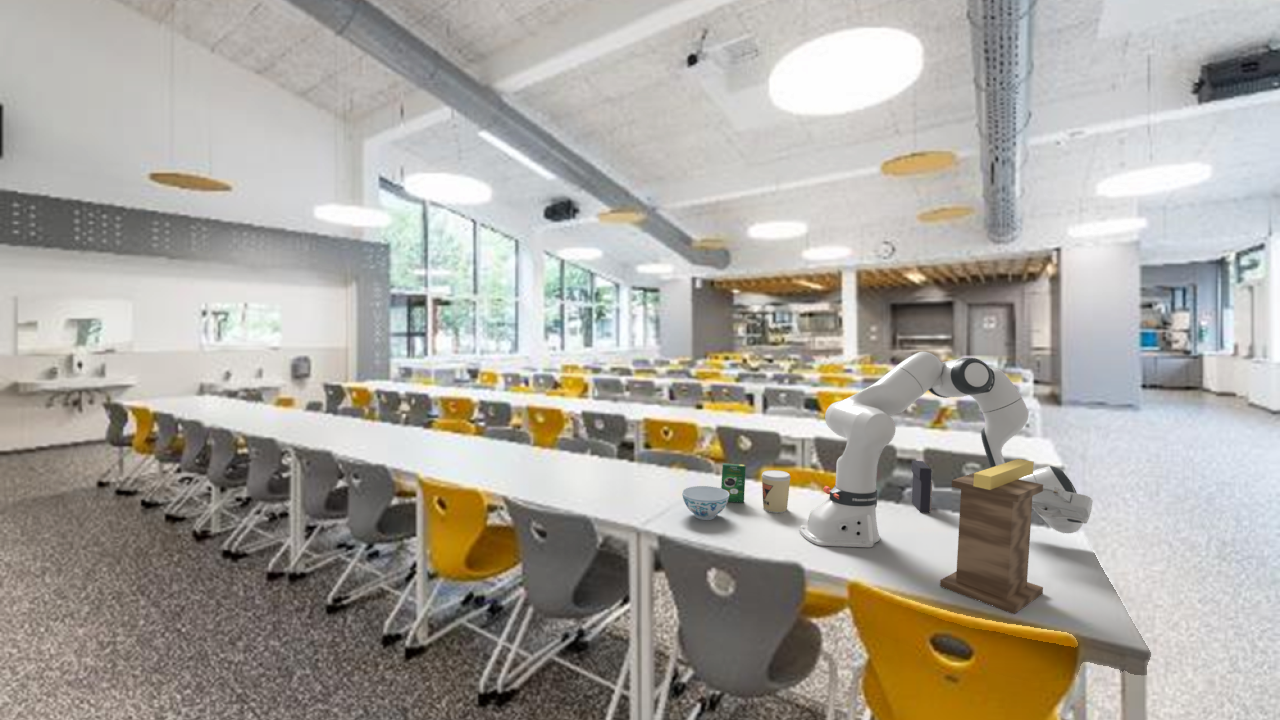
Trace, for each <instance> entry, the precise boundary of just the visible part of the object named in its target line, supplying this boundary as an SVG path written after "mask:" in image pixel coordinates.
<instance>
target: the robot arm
mask: <svg viewBox="0 0 1280 720" xmlns="http://www.w3.org/2000/svg"><path fill="white" fill-rule="evenodd" d="M927 392H930V393H931V394H932V395H934V396H935V397H936V396H937V397H940V398H943V399H947V398H961V397H962V398H963V397H966V396H970V397H971V398H972V399H974V400H975V402H976V403H977V407H979V409H980V411H981V414H982V415H983V419H984V427H983V428H982V429H981V431H980V435H981V436H980V437H981V441H982V444H983V448H984V453H985V455H986V457H987V461H988V464H989V468H991V467H995V466H998V465H1001V464H1004V463H1006V462H1005V458H1004V456H1003V453H1002V449H1003V447H1004V446H1005V444H1006V443H1007V442H1008V441H1010V440H1011V439H1012V438H1013V437H1014V436H1016V435H1017V434H1018V433H1019V432H1020V431H1021V430H1023V428H1024V427H1025V425H1026V424H1027V422H1028V420H1029V414H1030V413H1029V411H1028V407H1027V405H1026V403H1025V401H1024V399H1023V397H1022V395H1021V394H1020V392H1019V391H1018V389H1017V387H1016V386H1015V385H1014V383H1013V382H1012V381H1011V379H1010V378H1009V377H1008V376H1007V374H1005V372H1003V370H1001V369H999V368H995V367H990V366H989V365H987V363H986V362H984V361H983V360H981V359H979V358H975V357H962V358H959V359H950V360H947V361H946V360H945V361H943V362H942V361H941V360H940V359H939V358H938V357H937V356H936V355H934V354H933V353H931V352H928V351H918V352H916V353H914V354H912V355H910V356H909V357H906V358H905V359H903V360H902V361H901V362H899V363H898V364H897V365H895V366H894V367H893V368H892V369H891V370H889V371H888V372H887V373H885V375H883V376H882V377H880V378H879V379H878V380H877V381H876V382H874V383H873V384H872V385H869V386H868V387H866V388H864V389H862V390H860V391H858V392H856V393H855V394H853V395H851V396H849V397H846V398H845V399H841V400H838V401H835V402H833V403H831V404H830V405H829V406H828V407H827V409H826V411H825V413H824V415H825V416H824V421H825V424H826V426H827V427H828V428H829V429H830V430H831V431H832V432H834V434H836V435H837V436H839V437H841V438H844V439H846V443H845V444H846V446H845V449H844V451H843V453H842V455H840V456H839V457H838V458H837V460H836V467H835V468H836V469H835V470H836V472H835V473H836V474H835V485H834V487H833V488H831V487H829V486H828V485H825V486H824V487H823V489H822V491H823V492H824V493H825V494H826V495H829V498H828V499H826V500H824V502H822V503H821V504H819V505H817V506H816V507H815V508H813V509H812V510H811V511H810V513H809V515H808V519H807V523H806V524H801V525H800V527H799V533H800V534H801V536H802V537H803V538H805V539H806V540H807V541H808V542H810V543H812V544H813V545H817V546H825V547H828V546H829V547H845V548H847V547H849V548H851V547H853V548H873V547H874V545H875V543H877V542H879V541H880V539H881V537H880V533H879V529H878V522H877V504H878V490H877V478H878V477H877V476H878V464H879V460H880V457H881V454H882V452H883V450H884V448H885V447H886V446H887V445H889V444H890V443H891V442H892V441H893V439H894V437H895V435H896V424H895V421H894V419H893V418H892V417H891V416H895V415H898V414H901V413H903V412H904V411H905V410H907V409H908V408H909V407H910V406H911V405H912V404H914V403H915V402H917V400H918V399H919V398H922V396H924V394H926V393H927ZM1019 480H1024V481H1028V482H1033V483H1038V484H1043V491H1042V492H1040V493H1038V494H1036V495H1033V496H1032V510H1033V511H1034V512H1035V513H1036V514H1037V515H1038V516H1040V518H1041V519H1043V521H1044V522H1045V523H1046V524H1047V525H1048V526H1049V527H1050V528H1052V529H1053V530H1055V531H1056V532H1059V533H1062V534H1073V533H1076V532H1078V531H1079V530H1080V529H1081V528H1082V527H1083V524H1087V523H1088V522H1089V519H1090V516H1091V513H1092V508H1093V499H1092V498H1091V496H1088V495H1085V494H1081V493H1077V490H1076V488H1075V486H1074V484H1073V483H1072V480H1070V479H1069V477H1068V476H1067V474H1066V473H1065V472H1064V470H1062V469H1060V468H1058V467H1056V466H1053V465H1049V466H1044V467H1041V468H1038V469H1033V474H1030V475H1028V476H1025V477H1023V478H1020V479H1019Z"/></svg>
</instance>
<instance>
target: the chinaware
mask: <svg viewBox="0 0 1280 720" xmlns="http://www.w3.org/2000/svg"><path fill="white" fill-rule="evenodd" d="M681 495H682V499H683V502H684V505H685V506H686V508H687V509H688V510H689V511H690V512H691V513H693V514H694V517H695V518H697V519H698V520H703V521H704V520H705V521H709V520H715V518H716V517H717V515H719V514H720V513H721V512H723V510H724V509H725V508H726V506H727V504H728V503H729V502H728V499H729V492H728V491H726V490H724V489H721V487H717V486H712V485H711V486H709V485H697V486H696V485H695V486H689V487H686V488H684V489H683V490H682V491H681Z"/></svg>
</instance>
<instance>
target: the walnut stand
mask: <svg viewBox="0 0 1280 720" xmlns="http://www.w3.org/2000/svg"><path fill="white" fill-rule="evenodd" d="M979 471H980V470H979ZM979 471H975V472H972V473H969V474H966V475H964V476H960V477H957V478H954V479H952V480H951V487H952V488H955V489H958V490H960V500H959V501H960V502H959V503H960V504H959V519H958V520H959V522H958V536H957V538H958V539H957V554H956V555H957V557H956V571H954V572H952V573H950V574H948V575H947V576H945V577H942V578H941V579H940V581H939V582H940V583H939V586H941V588H943V587H944V589H946V588H947V589H946V590H948V589H949V591H951V590H952V591H951V592H954V593H956V592H957V594H959V593H960V595H962V596H964V595H965V597H968V598H969V599H972V598H973V600H975V599H976V601H978V600H980V601H982V602H981V603H983V602H984V603H983V604H986V603H987V604H986V605H989V604H990V605H989V606H991V605H993V606H992V607H994V606H995V607H994V608H996V609H999V608H1000V610H1002V611H1004V612H1007V611H1008V613H1010V614H1013V615H1015V614H1017V613H1018V612H1019V611H1021V610H1022V609H1023V608H1025V607H1026V606H1028V605H1029V604H1031V603H1032V602H1033V601H1034V600H1036V599H1037V598H1039V597H1041V596H1042V595H1043V593H1044V587H1043V586H1040V585H1038V584H1035V583H1032V582H1028V575H1029V574H1028V573H1029V571H1028V570H1029V557H1030V555H1029V554H1030V544H1031V543H1030V541H1031V540H1030V539H1031V526H1032V525H1031V524H1032V510H1033V508H1032V496H1033V495H1036V494H1038V493H1040V492H1042V491H1043V484H1038V483H1033V482H1028V481H1024V480H1019V479H1017V480H1015V481H1012V482H1010V483H1007V484H1004V485H1002V486H999V487H996V488H994V489H991V490H988V489H984V488H979V487H975V486H973V485H974V473H976V472H979ZM980 601H979V602H980Z"/></svg>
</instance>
